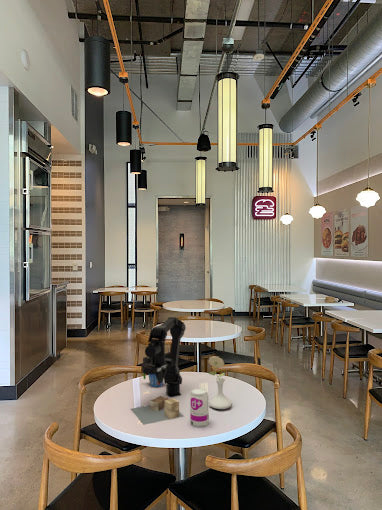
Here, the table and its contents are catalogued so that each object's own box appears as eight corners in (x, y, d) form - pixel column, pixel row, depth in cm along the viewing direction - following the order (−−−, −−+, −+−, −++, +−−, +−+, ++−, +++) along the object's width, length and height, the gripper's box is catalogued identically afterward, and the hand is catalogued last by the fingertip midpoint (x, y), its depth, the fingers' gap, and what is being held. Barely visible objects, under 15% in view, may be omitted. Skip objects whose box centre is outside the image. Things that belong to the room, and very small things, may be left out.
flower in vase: (236, 406, 191) (235, 356, 191) (222, 413, 183) (222, 361, 183) (216, 400, 200) (215, 352, 200) (201, 406, 192) (201, 356, 192)
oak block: (173, 412, 183) (173, 398, 183) (179, 416, 179) (179, 401, 179) (164, 415, 180) (164, 400, 180) (170, 419, 176) (170, 403, 176)
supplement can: (203, 430, 165) (202, 395, 166) (186, 426, 170) (186, 392, 170) (212, 423, 172) (211, 389, 172) (196, 419, 177) (195, 386, 177)
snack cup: (140, 386, 222) (140, 369, 222) (148, 381, 232) (148, 364, 232) (164, 389, 216) (164, 371, 216) (172, 384, 226) (172, 366, 226)
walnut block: (150, 409, 188) (160, 403, 194) (158, 411, 185) (168, 405, 191) (150, 401, 188) (160, 396, 194) (158, 403, 185) (168, 397, 191)
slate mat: (168, 402, 197) (168, 401, 197) (184, 417, 179) (184, 416, 179) (130, 410, 188) (130, 408, 188) (143, 426, 170) (143, 424, 170)
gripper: (158, 346, 205) (159, 375, 205) (134, 354, 189) (135, 385, 190) (175, 348, 198) (175, 378, 199) (151, 357, 183) (152, 390, 183)
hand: (159, 383), depth 193 cm, fingers closed
